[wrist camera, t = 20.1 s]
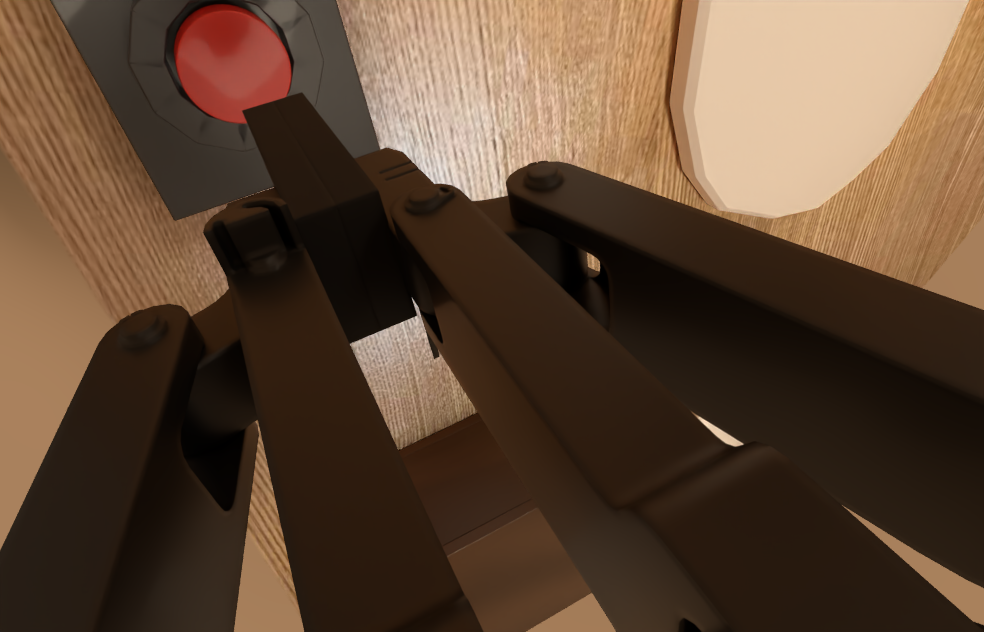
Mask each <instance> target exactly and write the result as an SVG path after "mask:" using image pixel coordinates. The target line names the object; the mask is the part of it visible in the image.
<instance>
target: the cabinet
mask: <svg viewBox="0 0 984 632" xmlns="http://www.w3.org/2000/svg"><path fill="white" fill-rule="evenodd" d="M399 453H400V455H401V457H402V460H403V462H404V464H405V466H406V468H407V471H408V473H409V475H410V477H411V479H412V481H413V484H414V486H415V488H416V490H417V492H418V495H419V497H420V499H421V501H422V503H423V505H424V508H425V510H426V512H427V514H428V516H429V519H430V521H431V523H432V525H433V527H434V530H435V532H436V534H437V536H438V538H439V540H440V543H441V545H442V547H443V549H444V551H445V554H446V556H447V558H448V560H449V562H450V564H451V567H452V569H453V571H454V573H455V575H456V578H457V580H458V582H459V584H460V586H461V588H462V590H463V592H464V594H465V596H466V597H467V598H468V600H469V602H470V604H471V606H472V608H473V610H474V612H475V614H476V616H477V619H478V621H479V623H480V625H481V627H482V629H483V631H484V632H526V631H528V630H529V629H531V628H533V627H534V626H536V625H537V624H539V623H541V622H543V621H545V620H546V619H548V618H550V617H551V616H553V615H555V614H556V613H558V612H560V611H561V610H563V609H565V608H567V607H568V606H570V605H572V604H573V603H575V602H577V601H578V600H580V599H582V598H584V597H585V596H587V595H588V594H590V593H592V592H591V590H590V589H589V587H588V586H587V584H586V582H585V581H584V579H583V578H582V576H581V574H580V573H579V571H578V570H577V568H576V567H575V565H574V563H573V562H572V560H571V559H570V557H569V556H568V554H567V552H566V551H565V549H564V548H563V546H562V544H561V543H560V541H559V540H558V538H557V537H556V535H555V533H554V532H553V530H552V529H551V527H550V526H549V524H548V522H547V521H546V519H545V518H544V516H543V514H542V513H541V511H540V510H539V508H538V507H537V505H536V503H535V502H534V500H533V499H532V497H531V495H530V494H529V492H528V491H527V489H526V488H525V486H524V484H523V483H522V481H521V480H520V478H519V477H518V475H517V473H516V472H515V470H514V469H513V467H512V465H511V464H510V462H509V461H508V459H507V458H506V456H505V454H504V453H503V451H502V450H501V448H500V447H499V445H498V443H497V442H496V440H495V439H494V437H493V435H492V434H491V432H490V431H489V429H488V428H487V426H486V424H485V423H484V421H483V420H482V418H481V417H480V415H479V413H477V414H475V415H473V416H471V417H469V418H467V419H464V420H462V421H460V422H458V423H456V424H454V425H452V426H450V427H448V428H446V429H444V430H441V431H439V432H437V433H435V434H433V435H431V436H429V437H427V438H425V439H423V440H421V441H418V442H416V443H414V444H412V445H410V446H408V447H406V448H404V449H402V450H400V451H399Z"/></svg>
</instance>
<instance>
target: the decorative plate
mask: <svg viewBox="0 0 984 632" xmlns="http://www.w3.org/2000/svg"><path fill="white" fill-rule="evenodd" d="M968 2H969V0H683V2H682V10H681V18H680V25H679V33H678V41H677V49H676V56H675V64H674V72H673V80H672V87H671V95H670V109H671V114H672V119H673V124H674V129H675V135H676V140H677V145H678V150H679V155H680V161H681V166H682V171H683V172H684V173H685V175H686V176H687V177H688V179H689V180H690V182H691V183H692V184H693V186H694V187H695V188H696V190H697V191H698V192H699V194H700V195H701V197H702V198H703V199H704V201H705V202H706V203H707V204H709V205H710V206H712V207H714V208H716V209H718V210H721V211H727V212H733V213H739V214H746V215H752V216H758V217H764V218H771V219H774V218H778V217H782V216H787V215H791V214H795V213H799V212H804V211H808V210H812V209H816V208H818V207H820V206H821V205H822V204H823V203H825V202H826V201H827V200H828V199H830V198H831V197H832V196H833V195H835V194H836V193H837V192H838V191H840V190H841V189H842V188H843V187H845V186H846V185H847V184H849V183H850V182H851V181H852V180H854V179H855V178H856V177H857V176H858V175H859V174H860V173H861V172H862V171H863V170H864V169H865V168H866V167H867V166H868V165H869V164H870V163H871V162H872V161H873V160H874V159H875V158H876V157H877V156H878V155H879V154H880V153H882V152H883V151H884V150H885V149H886V148H887V147H888V146H889V144H890V143H891V141H892V140H893V138H894V137H895V135H896V133H897V132H898V130H899V129H900V127H901V126H902V124H903V123H904V121H905V120H906V118H907V117H908V115H909V114H910V112H911V111H912V109H913V108H914V106H915V105H916V103H917V102H918V100H919V98H920V97H921V95H922V94H923V92H924V91H925V89H926V88H927V86H928V85H929V83H930V82H931V80H932V79H933V77H934V76H935V74H936V73H937V71H938V69H939V66H940V64H941V62H942V60H943V58H944V55H945V53H946V51H947V49H948V46H949V44H950V42H951V40H952V37H953V35H954V33H955V31H956V28H957V26H958V24H959V22H960V19H961V17H962V15H963V13H964V10H965V8H966V6H967V4H968Z"/></svg>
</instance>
